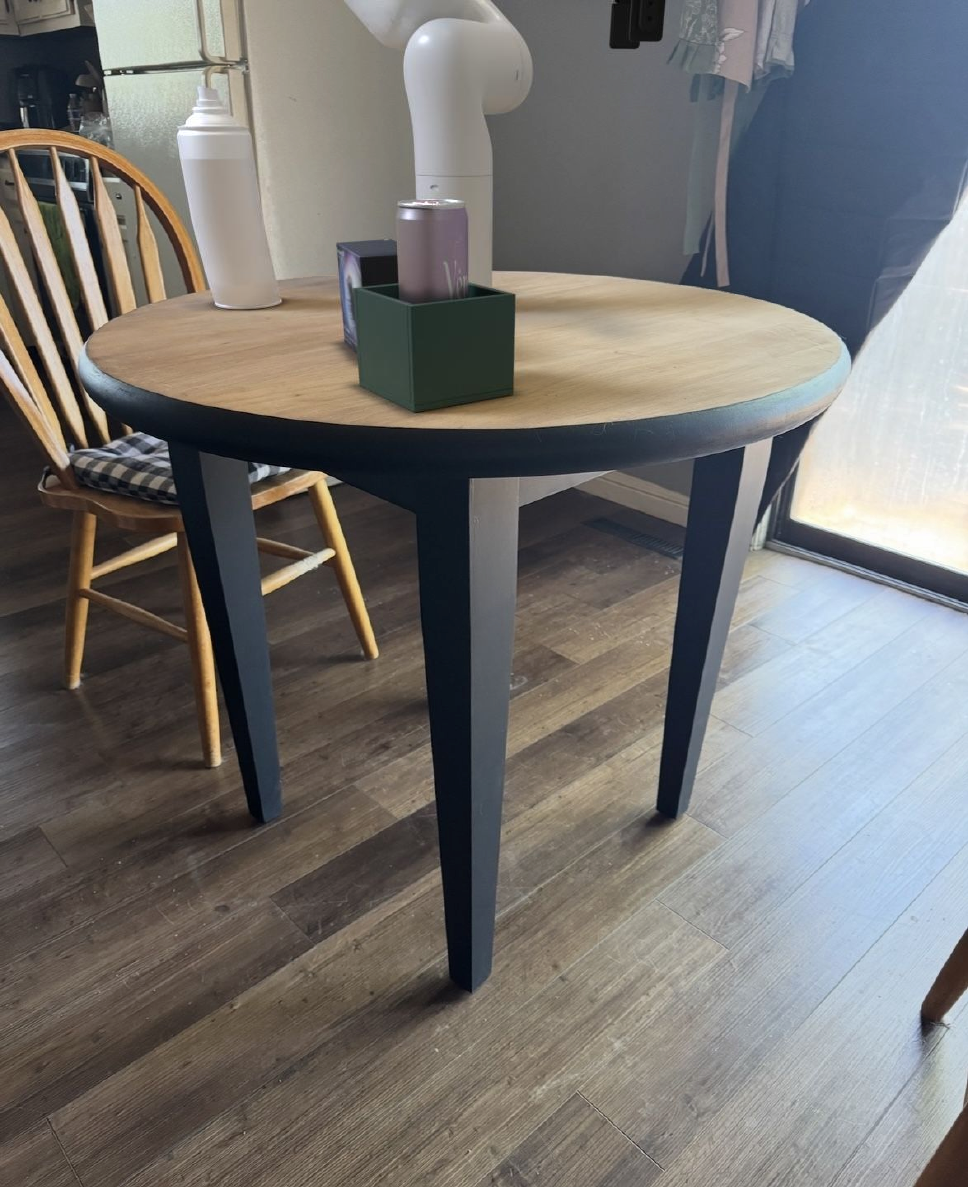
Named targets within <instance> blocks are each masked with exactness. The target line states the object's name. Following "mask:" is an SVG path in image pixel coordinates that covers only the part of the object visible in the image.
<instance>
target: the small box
mask: <svg viewBox="0 0 968 1187" xmlns="http://www.w3.org/2000/svg"><path fill="white" fill-rule="evenodd" d="M335 246H336V258H337V268H338V269H337V270H338V280H339V290H340V291H339V294H340V303H341V317H342V327H343V337H344V338H343V339H344V343H345V344H346V345H347V346H348V347H349V348H350V349H351V350H352V351H353V352H354V353H355V354H356V355H357V341H356V325H355V310H354V294H353V288H357V287H367V286H377V285H387V284H397V283H399V280H398V256H397V240H394V239H392V238H384V239H371V240H355V241H343V242H336V243H335Z"/></svg>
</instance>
